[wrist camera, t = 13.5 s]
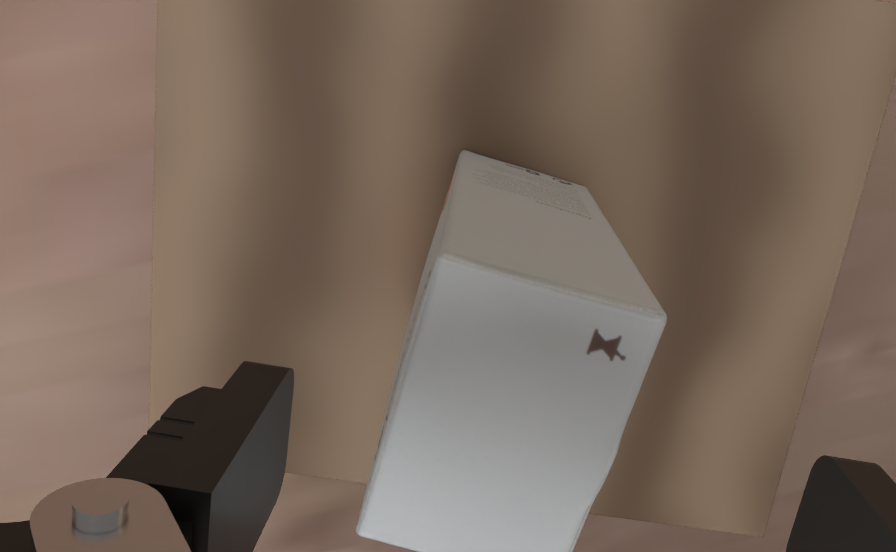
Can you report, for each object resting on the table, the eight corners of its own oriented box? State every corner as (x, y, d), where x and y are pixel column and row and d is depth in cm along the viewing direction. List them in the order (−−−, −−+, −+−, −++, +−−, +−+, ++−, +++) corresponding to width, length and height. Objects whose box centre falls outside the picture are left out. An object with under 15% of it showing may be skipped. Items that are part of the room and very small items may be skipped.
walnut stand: (853, 10, 27) (915, 5, 23) (729, 477, 32) (763, 537, 28) (205, -78, 27) (159, -97, 23) (188, 404, 32) (148, 454, 28)
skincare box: (458, 145, 25) (438, 240, 13) (588, 185, 25) (682, 312, 13) (405, 321, 26) (347, 542, 15) (527, 357, 26) (564, 601, 15)
